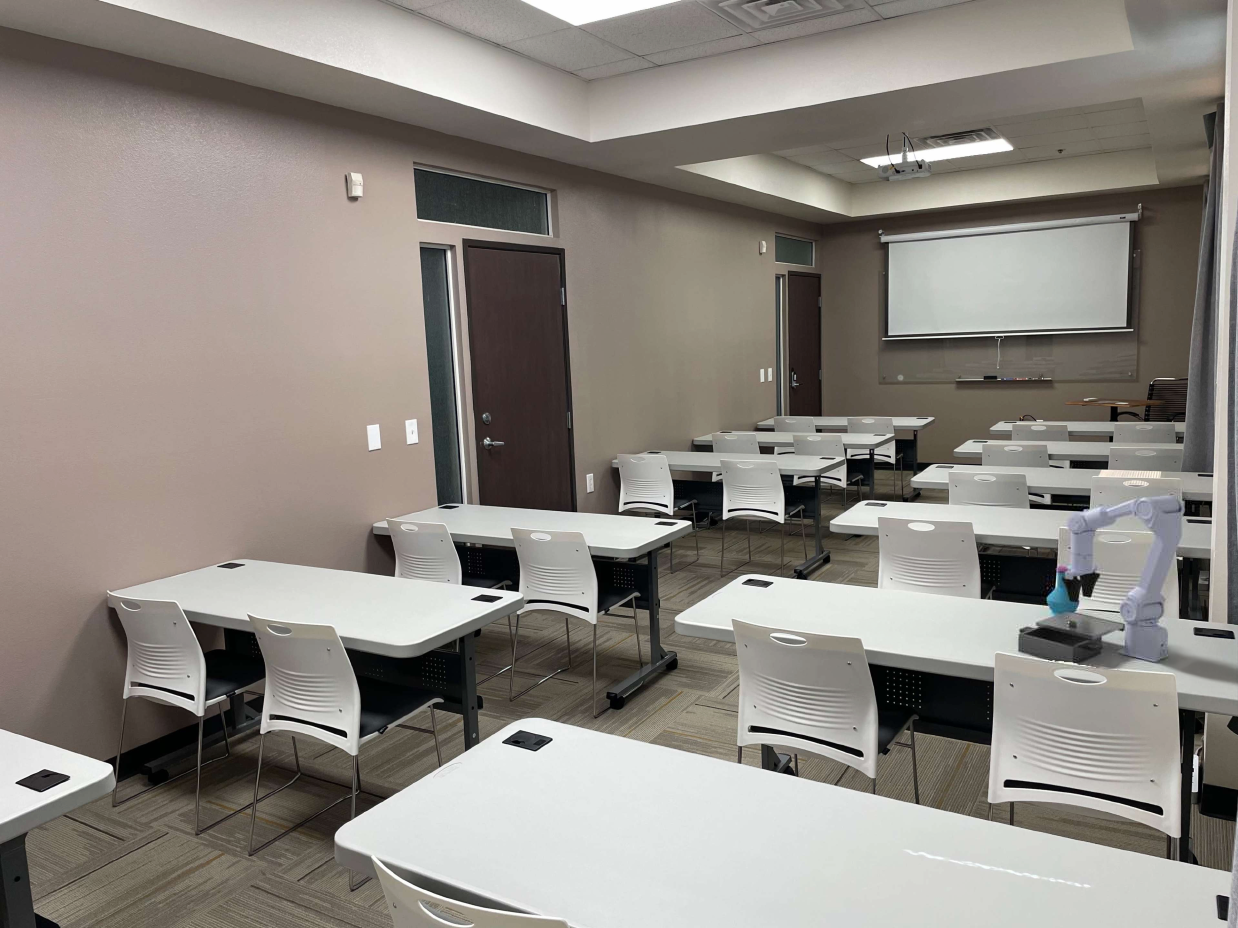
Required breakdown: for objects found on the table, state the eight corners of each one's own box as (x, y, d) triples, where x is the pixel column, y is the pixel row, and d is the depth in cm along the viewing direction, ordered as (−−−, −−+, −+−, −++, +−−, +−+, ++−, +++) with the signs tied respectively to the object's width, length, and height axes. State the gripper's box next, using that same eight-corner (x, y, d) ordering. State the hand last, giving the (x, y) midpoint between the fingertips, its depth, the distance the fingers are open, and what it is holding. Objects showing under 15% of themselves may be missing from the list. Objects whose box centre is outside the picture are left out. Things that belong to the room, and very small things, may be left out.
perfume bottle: (1071, 609, 275) (1073, 564, 273) (1084, 618, 265) (1085, 571, 264) (1041, 609, 275) (1042, 564, 274) (1053, 618, 266) (1054, 571, 265)
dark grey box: (1112, 656, 232) (1113, 638, 231) (1083, 669, 223) (1084, 650, 223) (1037, 637, 249) (1037, 620, 248) (1008, 648, 240) (1008, 631, 240)
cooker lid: (1124, 630, 240) (1125, 619, 239) (1093, 643, 230) (1093, 631, 230) (1067, 617, 253) (1067, 607, 252) (1035, 629, 243) (1036, 618, 243)
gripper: (1080, 547, 257) (1079, 592, 258) (1054, 555, 248) (1053, 600, 250) (1104, 551, 251) (1103, 596, 253) (1079, 559, 243) (1078, 605, 244)
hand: (1080, 599), depth 251 cm, fingers open, 7 cm apart
